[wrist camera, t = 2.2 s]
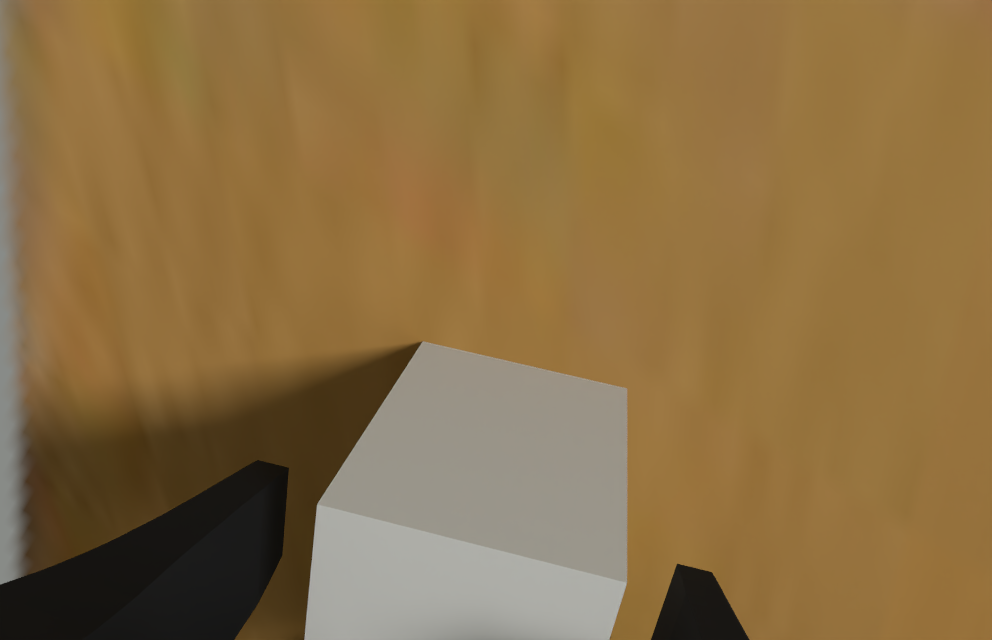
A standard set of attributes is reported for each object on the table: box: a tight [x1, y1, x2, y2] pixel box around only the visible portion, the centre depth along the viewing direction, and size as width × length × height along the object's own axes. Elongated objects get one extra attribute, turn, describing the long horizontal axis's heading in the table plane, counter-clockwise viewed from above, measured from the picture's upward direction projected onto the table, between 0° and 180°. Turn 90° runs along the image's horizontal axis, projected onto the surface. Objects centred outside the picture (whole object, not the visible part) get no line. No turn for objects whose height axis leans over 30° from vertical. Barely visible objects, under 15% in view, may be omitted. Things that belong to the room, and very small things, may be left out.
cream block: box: [304, 342, 627, 640], centre depth 14 cm, size 4×4×6 cm
